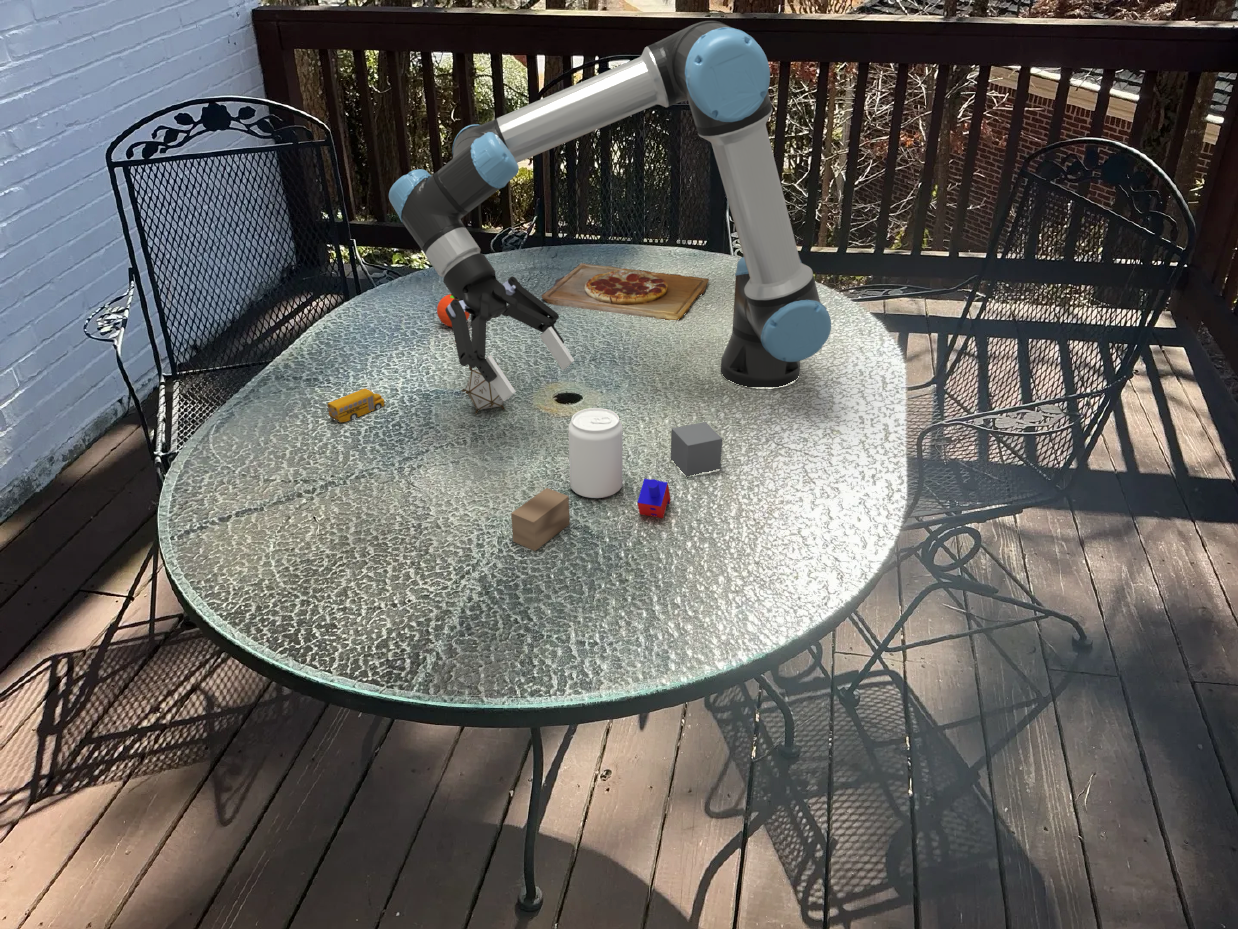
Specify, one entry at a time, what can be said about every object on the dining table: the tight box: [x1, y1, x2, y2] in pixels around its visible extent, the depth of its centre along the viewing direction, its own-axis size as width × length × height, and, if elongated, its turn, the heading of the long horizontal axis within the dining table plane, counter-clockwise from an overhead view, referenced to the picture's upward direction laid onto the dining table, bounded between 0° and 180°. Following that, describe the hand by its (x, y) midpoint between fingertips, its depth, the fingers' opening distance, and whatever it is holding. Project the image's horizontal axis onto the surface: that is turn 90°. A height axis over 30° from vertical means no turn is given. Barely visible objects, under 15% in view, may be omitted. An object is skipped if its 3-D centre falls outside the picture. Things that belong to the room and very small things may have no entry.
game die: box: [460, 362, 514, 415], centre depth 166 cm, size 9×8×10 cm
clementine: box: [436, 293, 471, 328], centre depth 198 cm, size 8×7×7 cm
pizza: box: [540, 262, 710, 320], centre depth 217 cm, size 35×28×4 cm
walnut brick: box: [510, 487, 571, 552], centre depth 134 cm, size 8×4×5 cm, turn 146°
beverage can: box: [567, 407, 624, 499], centre depth 142 cm, size 8×8×12 cm
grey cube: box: [670, 421, 723, 478], centre depth 150 cm, size 6×6×6 cm
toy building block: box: [636, 478, 671, 519], centre depth 138 cm, size 4×4×8 cm
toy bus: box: [327, 387, 385, 423], centre depth 166 cm, size 3×10×4 cm, turn 139°
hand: (540, 380), depth 143 cm, fingers open, 13 cm apart
